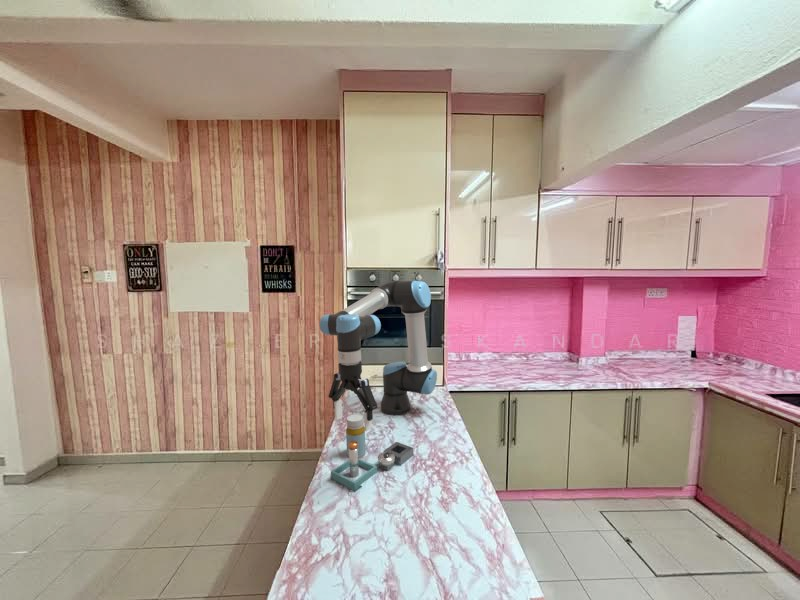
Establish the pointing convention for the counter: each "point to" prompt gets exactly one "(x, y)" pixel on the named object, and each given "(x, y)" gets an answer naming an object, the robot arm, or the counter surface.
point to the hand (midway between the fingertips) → (353, 423)
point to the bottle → (356, 433)
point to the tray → (348, 482)
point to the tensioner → (394, 455)
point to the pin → (353, 458)
